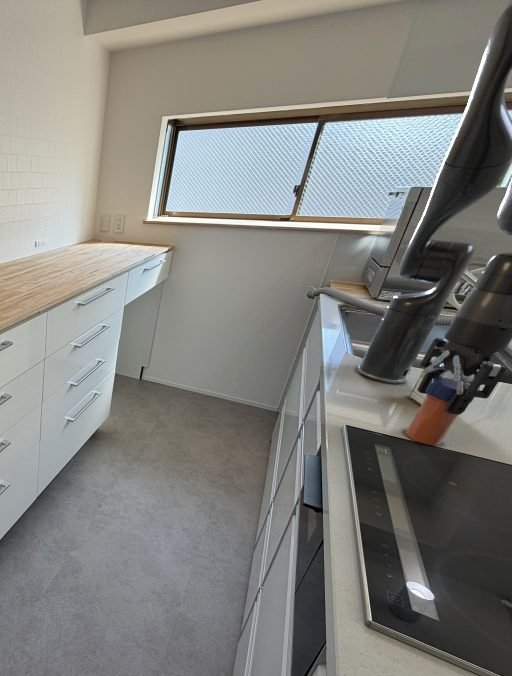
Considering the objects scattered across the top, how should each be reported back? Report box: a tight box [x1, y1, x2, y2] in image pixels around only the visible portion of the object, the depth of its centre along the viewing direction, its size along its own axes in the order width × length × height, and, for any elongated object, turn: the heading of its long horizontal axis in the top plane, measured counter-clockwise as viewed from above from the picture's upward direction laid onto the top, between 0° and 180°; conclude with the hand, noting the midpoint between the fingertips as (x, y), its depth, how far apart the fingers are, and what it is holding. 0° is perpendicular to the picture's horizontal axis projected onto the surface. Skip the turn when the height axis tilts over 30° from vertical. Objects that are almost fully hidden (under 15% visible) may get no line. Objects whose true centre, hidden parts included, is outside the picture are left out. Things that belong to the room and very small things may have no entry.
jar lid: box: [426, 377, 475, 405], centre depth 75 cm, size 6×6×3 cm
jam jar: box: [405, 394, 459, 446], centre depth 77 cm, size 5×5×11 cm
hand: (437, 402), depth 77 cm, fingers open, 7 cm apart
